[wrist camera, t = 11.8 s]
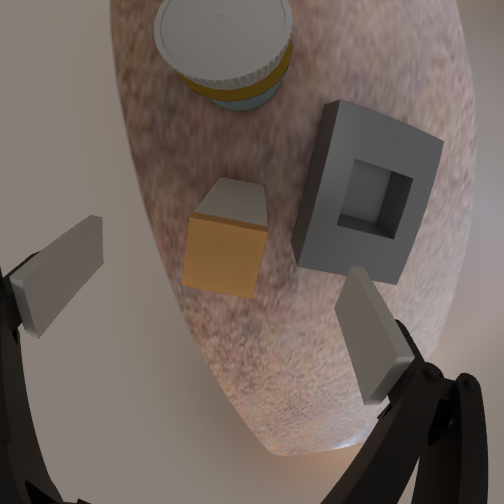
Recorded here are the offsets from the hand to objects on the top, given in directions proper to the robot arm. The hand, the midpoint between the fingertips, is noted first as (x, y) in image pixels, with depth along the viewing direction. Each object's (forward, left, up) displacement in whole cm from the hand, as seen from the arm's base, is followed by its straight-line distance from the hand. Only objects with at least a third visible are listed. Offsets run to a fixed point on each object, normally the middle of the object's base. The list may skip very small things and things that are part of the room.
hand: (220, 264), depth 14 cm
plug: (0, 0, -15) cm, 15 cm away
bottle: (-12, -2, -15) cm, 19 cm away
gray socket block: (-4, +11, -14) cm, 19 cm away
